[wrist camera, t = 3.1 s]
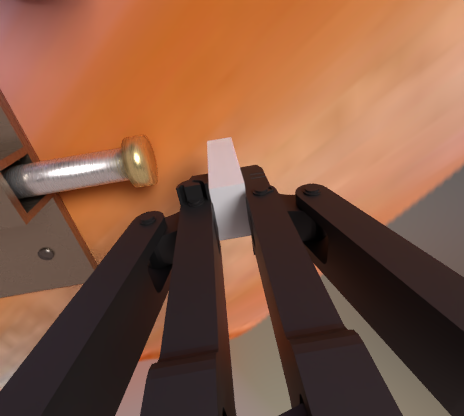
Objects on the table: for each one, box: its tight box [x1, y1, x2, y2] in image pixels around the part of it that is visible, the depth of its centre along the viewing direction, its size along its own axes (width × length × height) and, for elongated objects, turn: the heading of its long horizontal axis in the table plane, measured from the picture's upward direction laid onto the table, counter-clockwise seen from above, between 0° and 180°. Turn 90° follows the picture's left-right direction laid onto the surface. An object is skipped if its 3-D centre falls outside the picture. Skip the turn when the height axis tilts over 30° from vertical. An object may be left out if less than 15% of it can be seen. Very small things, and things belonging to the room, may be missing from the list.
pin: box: [0, 135, 158, 199], centre depth 18 cm, size 17×3×3 cm, turn 98°
